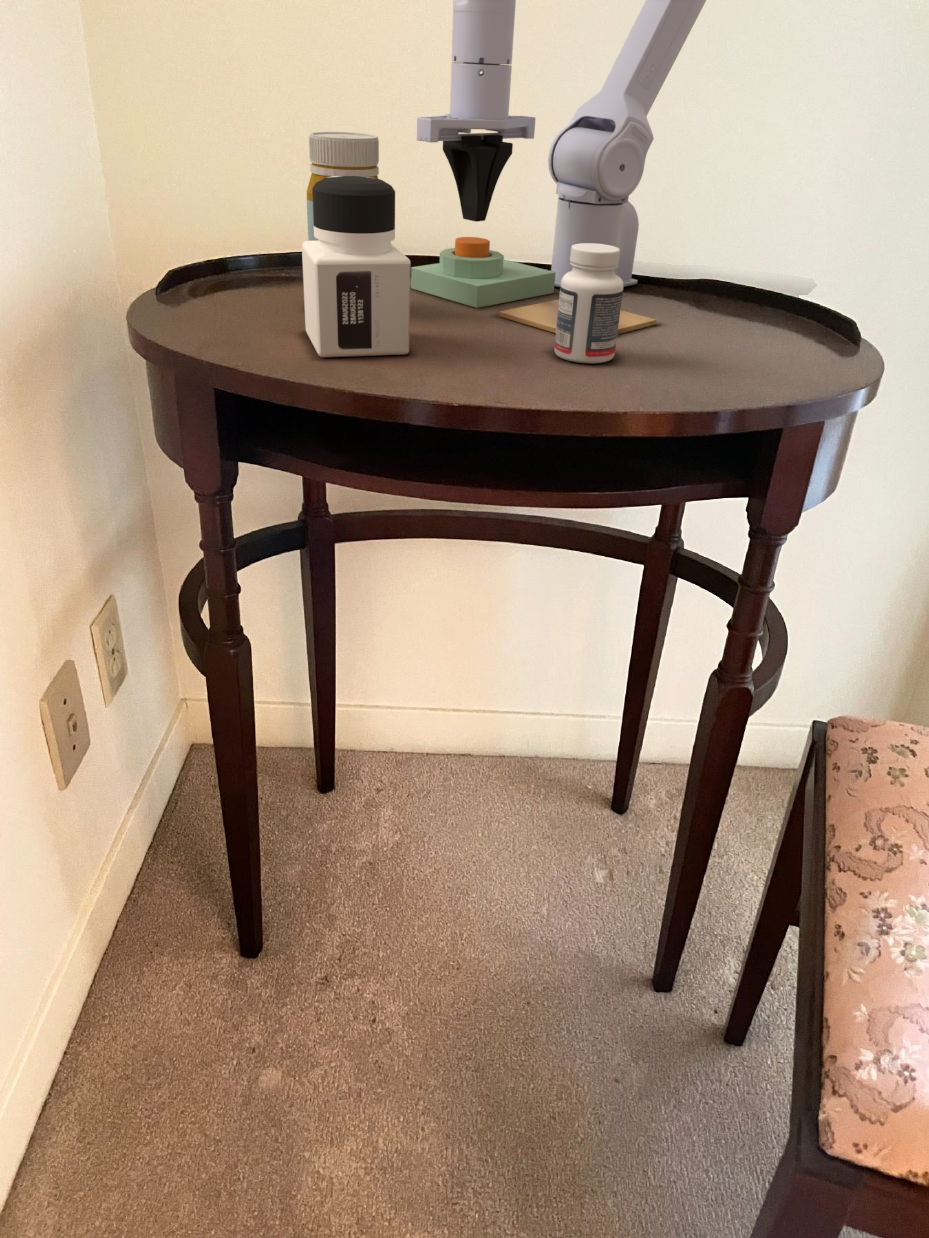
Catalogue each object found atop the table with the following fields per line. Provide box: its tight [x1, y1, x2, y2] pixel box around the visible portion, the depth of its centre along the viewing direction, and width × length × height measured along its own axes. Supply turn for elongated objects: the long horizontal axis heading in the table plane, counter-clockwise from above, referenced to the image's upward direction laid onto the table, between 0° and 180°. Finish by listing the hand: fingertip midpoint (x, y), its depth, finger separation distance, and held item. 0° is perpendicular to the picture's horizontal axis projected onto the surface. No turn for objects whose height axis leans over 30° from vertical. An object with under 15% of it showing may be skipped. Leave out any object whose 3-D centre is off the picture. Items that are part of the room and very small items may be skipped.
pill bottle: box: [553, 243, 624, 364], centre depth 76 cm, size 5×5×9 cm
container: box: [301, 176, 412, 358], centre depth 74 cm, size 8×8×13 cm
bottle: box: [306, 131, 380, 241], centre depth 83 cm, size 7×7×15 cm
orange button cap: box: [454, 236, 491, 258], centre depth 93 cm, size 4×4×2 cm
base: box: [410, 247, 556, 309], centre depth 96 cm, size 12×10×4 cm
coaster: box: [498, 298, 657, 335], centre depth 88 cm, size 11×11×1 cm
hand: (474, 220), depth 92 cm, fingers closed
